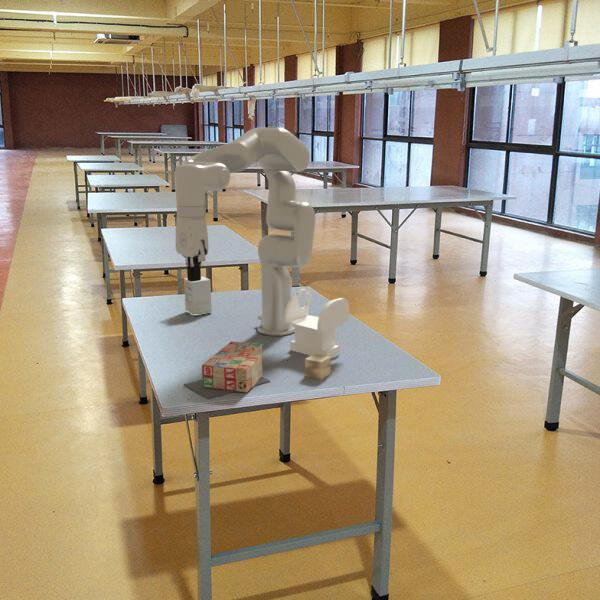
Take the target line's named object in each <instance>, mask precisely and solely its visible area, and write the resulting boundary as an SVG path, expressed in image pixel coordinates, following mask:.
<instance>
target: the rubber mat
mask: <svg viewBox="0 0 600 600" xmlns="http://www.w3.org/2000/svg"><path fill="white" fill-rule="evenodd" d="M270 382H271V380H270V379H268V378H266V377H263V376H262V377H261V378H260V379H259V380H258V381H257V383H256V384H255V385H254V386H253V387H256V386H259V385H264V384H267V383H270ZM183 386H184V387H186V388H188V389H189V390H191V391H193V392H194V393H196V394H198V395H200V396H202V397H204V398H205V399H207V400H210V399H214V398H217V397H221V396H225V395H228V394H231V393H235V392H236V391H230V390H223V389H215V388H214V389H212V388H204V387H203V380H202V379H198V380H195V381H191V382H187V383H183Z"/></svg>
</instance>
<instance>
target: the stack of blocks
mask: <svg viewBox="0 0 600 600" xmlns="http://www.w3.org/2000/svg"><path fill="white" fill-rule="evenodd" d="M262 345H263V344H262V343H260V342H247V341H246V342H244V341H243V342H242V341H230V342H229V343H228V344H226V345H225V346H223V347H222V348H221V349H219V351H218V352H216V353H215V354H214V355H212V357H210V358H209V359H208V360H206V361H205V362H204V363H203V364H202V365H201V377H202V379H201V380H203V387H204V388H212V389H214V388H215V389H223V390H230V391H235V392H240V393H248V392H249V391H250V390H251V389H253V387H255V386H254V385H255V384H256V383H257V381H258V380H259V379H260V378H261V377H263V353H262V351H263V349H262Z"/></svg>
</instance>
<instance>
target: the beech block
mask: <svg viewBox="0 0 600 600" xmlns="http://www.w3.org/2000/svg"><path fill="white" fill-rule="evenodd" d="M330 375H331V359H330V357H329V356H323V355H318V354H313V355H311V356H309V355H308V357H306V358H304V377H306V376H308V377H307V378H311V377H313V378H312V379H315V378H317V379H316V380H320V379H322V380H323V379H325V378H326V377H328V376H330Z"/></svg>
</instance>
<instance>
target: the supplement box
mask: <svg viewBox="0 0 600 600" xmlns="http://www.w3.org/2000/svg"><path fill="white" fill-rule="evenodd" d="M183 283H184V284H183V286H184V305H185V306H184V307H185V311H186V310H187V311H189V312H190V313H192V314H203V313H210V312H212V313H213V309H212V307H213V306H212V286H211V284H212V283H211V279H209V278H208V277H205V276H202V275H201V280H199V281H193V282H191V281H188V277H185V278H183Z"/></svg>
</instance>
